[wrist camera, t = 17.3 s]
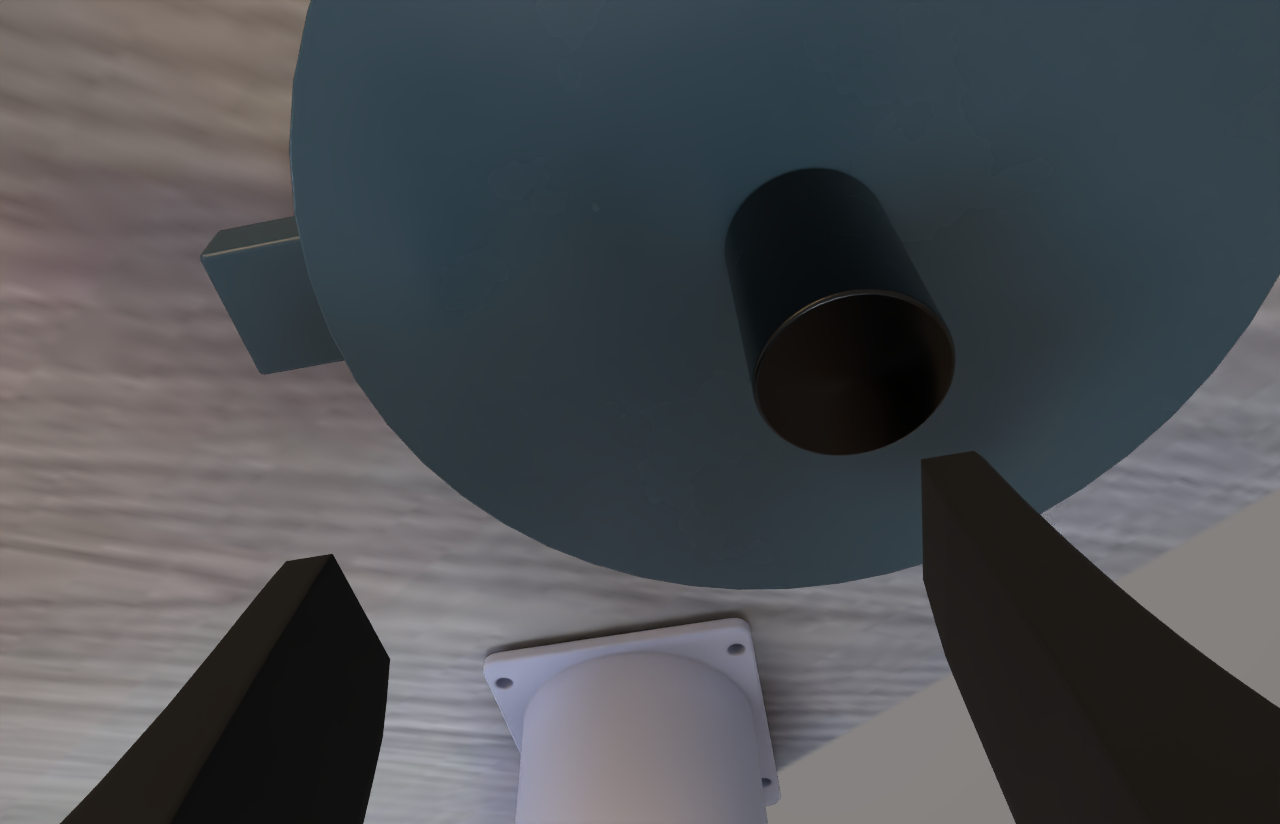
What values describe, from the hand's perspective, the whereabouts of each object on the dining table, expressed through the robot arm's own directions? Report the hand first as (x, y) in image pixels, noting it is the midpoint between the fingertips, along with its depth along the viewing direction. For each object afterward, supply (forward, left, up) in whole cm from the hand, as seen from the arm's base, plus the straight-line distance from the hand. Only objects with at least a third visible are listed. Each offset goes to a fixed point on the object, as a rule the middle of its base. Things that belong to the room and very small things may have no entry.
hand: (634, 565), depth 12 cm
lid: (+2, -3, -5) cm, 6 cm away
